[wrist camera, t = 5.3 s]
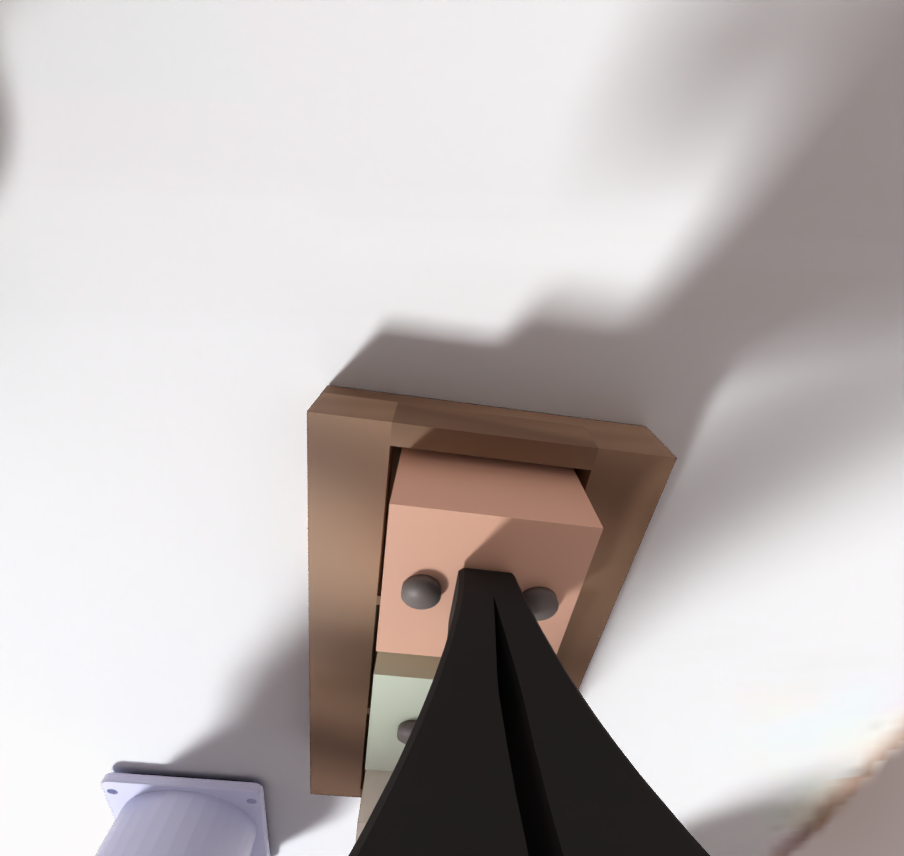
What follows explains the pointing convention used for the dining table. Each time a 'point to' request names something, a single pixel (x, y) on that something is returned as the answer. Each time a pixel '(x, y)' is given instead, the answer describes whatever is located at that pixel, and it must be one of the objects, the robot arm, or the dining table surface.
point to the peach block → (480, 542)
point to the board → (365, 529)
